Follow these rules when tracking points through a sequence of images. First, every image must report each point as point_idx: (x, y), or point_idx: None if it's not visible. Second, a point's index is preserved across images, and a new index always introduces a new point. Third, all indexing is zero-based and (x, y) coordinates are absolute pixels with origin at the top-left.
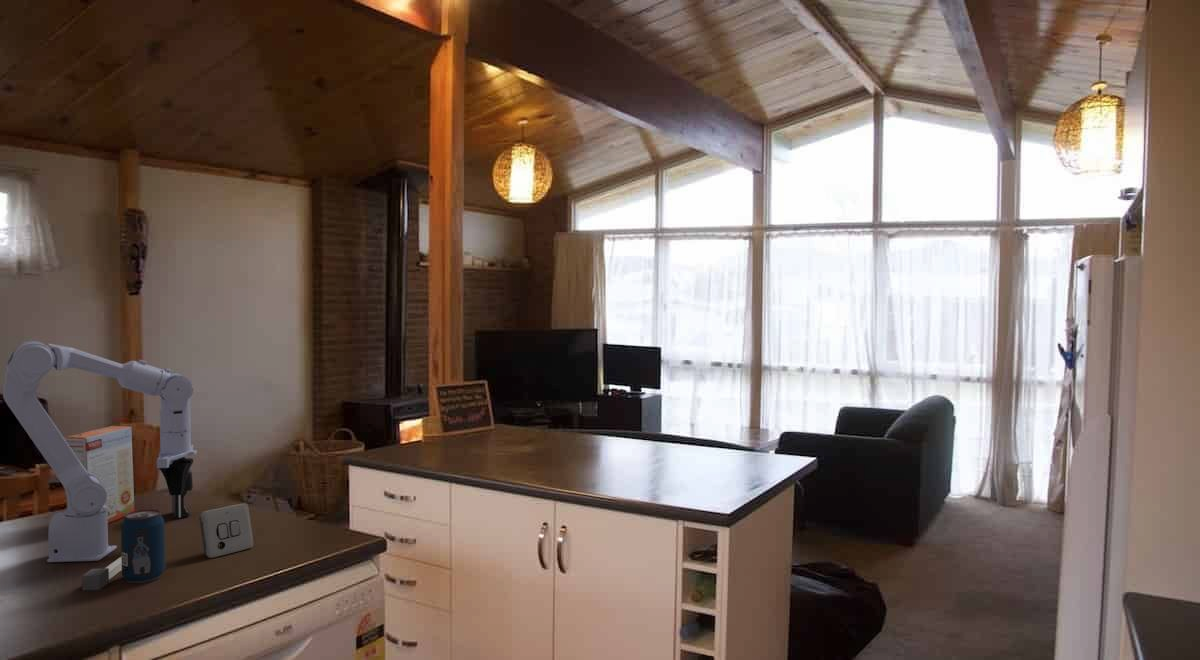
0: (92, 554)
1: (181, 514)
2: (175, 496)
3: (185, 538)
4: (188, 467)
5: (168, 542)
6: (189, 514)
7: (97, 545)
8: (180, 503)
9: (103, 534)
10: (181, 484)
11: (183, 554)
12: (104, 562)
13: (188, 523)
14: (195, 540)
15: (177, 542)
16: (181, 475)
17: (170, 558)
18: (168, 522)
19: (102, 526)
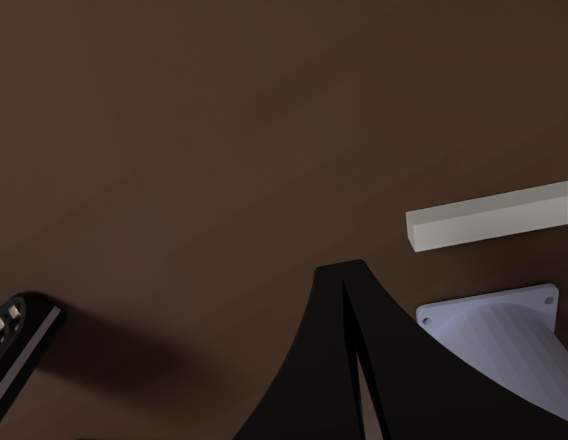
0: (539, 317)
1: (46, 312)
2: (22, 387)
3: (284, 147)
4: (327, 425)
5: (342, 183)
6: (18, 294)
7: (542, 331)
8: (25, 347)
9: (537, 352)
10: (396, 302)
11: (514, 18)
12: (563, 260)
13: (98, 247)
14: (307, 86)
15: (340, 148)
16: (462, 364)
17: (565, 47)
18: (113, 314)
19: (561, 380)
